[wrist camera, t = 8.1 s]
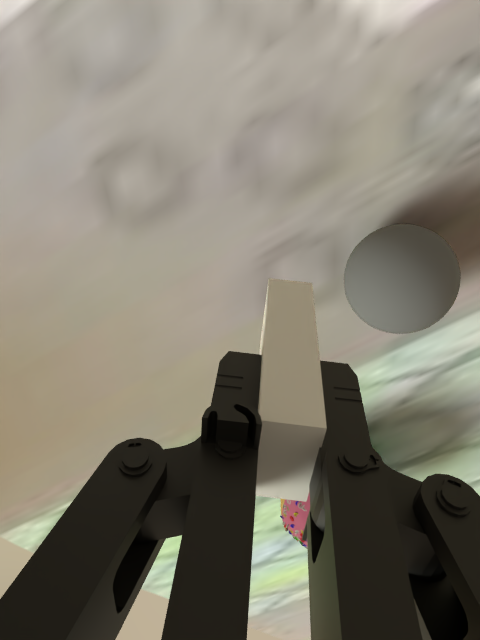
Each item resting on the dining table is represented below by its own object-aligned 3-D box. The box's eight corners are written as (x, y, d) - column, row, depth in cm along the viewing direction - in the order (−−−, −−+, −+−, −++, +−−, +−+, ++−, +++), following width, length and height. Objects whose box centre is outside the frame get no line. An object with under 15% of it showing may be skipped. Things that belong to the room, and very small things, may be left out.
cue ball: (488, 275, 18) (477, 226, 22) (357, 235, 19) (371, 195, 23) (430, 371, 21) (430, 312, 25) (321, 332, 22) (339, 281, 26)
